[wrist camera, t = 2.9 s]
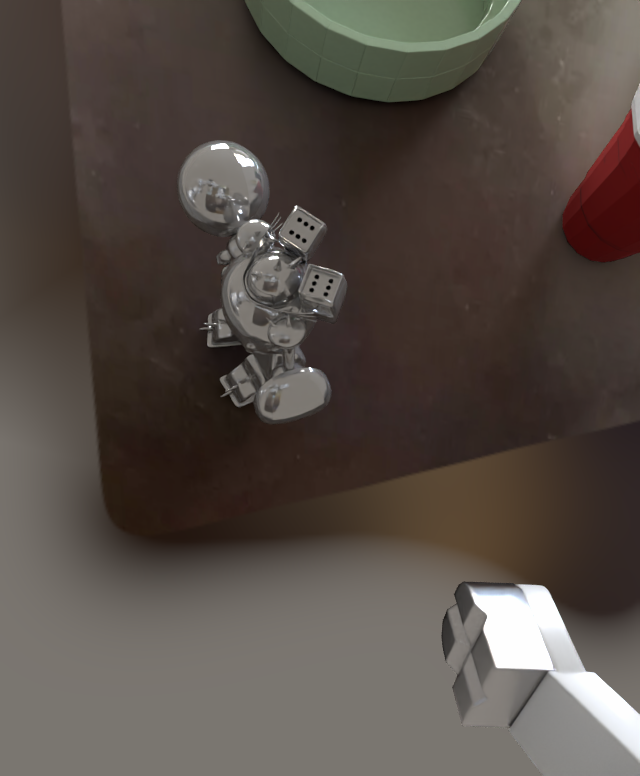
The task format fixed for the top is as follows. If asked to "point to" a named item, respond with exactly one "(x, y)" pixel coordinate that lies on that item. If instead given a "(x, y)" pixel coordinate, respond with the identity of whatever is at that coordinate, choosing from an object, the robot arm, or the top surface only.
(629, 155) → the plastic cup
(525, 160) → the top surface
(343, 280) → the robot toy
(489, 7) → the bowl
